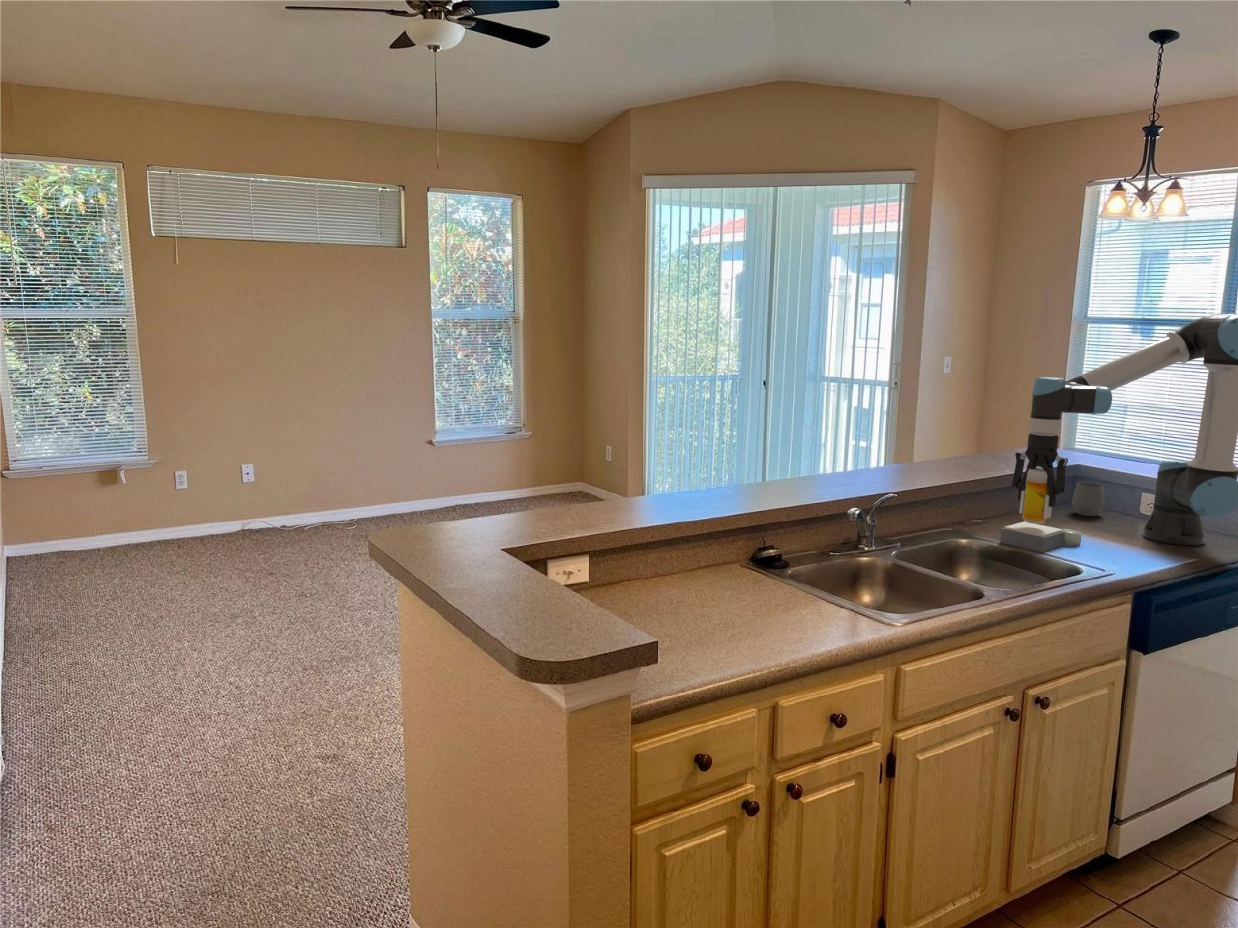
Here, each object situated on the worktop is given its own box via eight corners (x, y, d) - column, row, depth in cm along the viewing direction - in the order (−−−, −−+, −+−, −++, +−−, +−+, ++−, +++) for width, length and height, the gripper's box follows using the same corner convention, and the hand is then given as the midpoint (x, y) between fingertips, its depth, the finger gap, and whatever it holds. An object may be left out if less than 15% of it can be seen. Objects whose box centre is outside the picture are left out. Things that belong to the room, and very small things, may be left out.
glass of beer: (1045, 525, 232) (1051, 472, 229) (1021, 522, 235) (1027, 469, 232) (1046, 521, 237) (1052, 468, 234) (1022, 518, 240) (1028, 466, 237)
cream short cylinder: (1084, 544, 238) (1085, 532, 238) (1074, 547, 235) (1075, 535, 234) (1062, 539, 243) (1064, 527, 242) (1052, 542, 239) (1053, 530, 239)
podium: (1063, 545, 236) (1065, 529, 235) (1042, 552, 229) (1044, 535, 228) (1021, 536, 245) (1023, 520, 245) (1000, 542, 238) (1001, 526, 237)
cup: (1109, 516, 273) (1113, 486, 271) (1092, 519, 268) (1096, 488, 266) (1081, 510, 281) (1084, 480, 279) (1064, 513, 276) (1067, 483, 274)
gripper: (1086, 437, 226) (1076, 520, 230) (1017, 428, 241) (1008, 507, 245) (1072, 439, 222) (1063, 524, 226) (1003, 430, 237) (995, 510, 241)
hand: (1034, 515), depth 236 cm, fingers closed on glass of beer, 6 cm apart
